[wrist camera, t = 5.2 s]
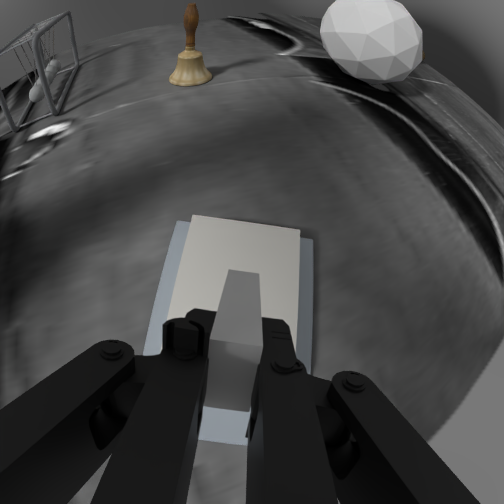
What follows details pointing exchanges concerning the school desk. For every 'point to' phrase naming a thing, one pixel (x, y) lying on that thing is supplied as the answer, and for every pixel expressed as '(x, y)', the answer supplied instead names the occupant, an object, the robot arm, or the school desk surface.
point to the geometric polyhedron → (372, 39)
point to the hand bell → (190, 55)
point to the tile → (238, 266)
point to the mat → (214, 419)
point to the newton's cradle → (41, 70)
